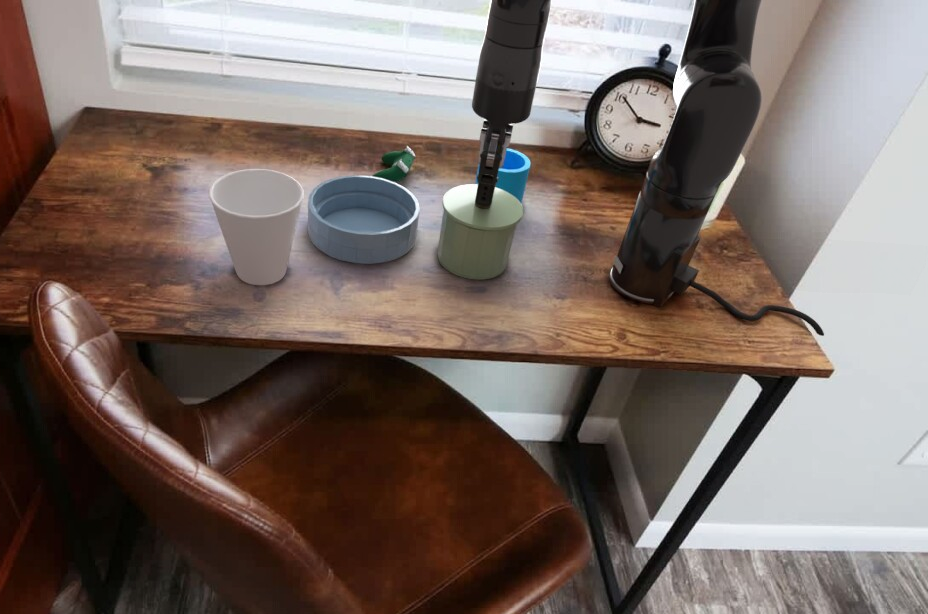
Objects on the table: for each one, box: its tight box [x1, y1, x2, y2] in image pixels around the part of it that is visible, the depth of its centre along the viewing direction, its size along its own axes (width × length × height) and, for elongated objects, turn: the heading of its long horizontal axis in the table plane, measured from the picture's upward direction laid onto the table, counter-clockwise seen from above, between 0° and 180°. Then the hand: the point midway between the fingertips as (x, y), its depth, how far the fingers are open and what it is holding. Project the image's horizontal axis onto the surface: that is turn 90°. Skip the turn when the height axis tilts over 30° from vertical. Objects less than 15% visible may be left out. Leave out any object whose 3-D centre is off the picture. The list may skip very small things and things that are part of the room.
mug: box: [474, 147, 531, 205], centre depth 116 cm, size 12×8×8 cm
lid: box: [441, 175, 524, 230], centre depth 97 cm, size 11×11×6 cm
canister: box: [436, 210, 517, 281], centre depth 102 cm, size 10×10×8 cm
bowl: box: [307, 174, 421, 265], centre depth 104 cm, size 16×16×6 cm
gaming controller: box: [372, 145, 416, 183], centre depth 119 cm, size 9×4×6 cm
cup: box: [208, 168, 305, 286], centre depth 93 cm, size 12×12×12 cm
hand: (484, 198), depth 98 cm, fingers closed on lid, 2 cm apart
